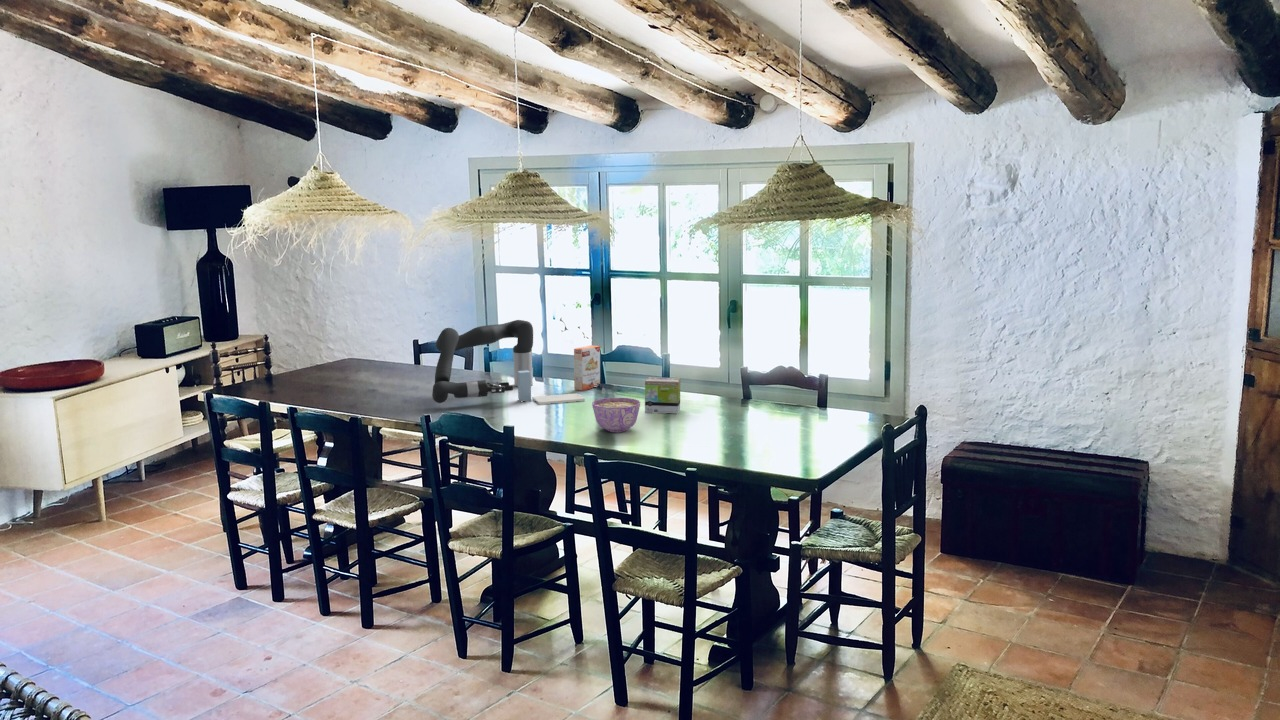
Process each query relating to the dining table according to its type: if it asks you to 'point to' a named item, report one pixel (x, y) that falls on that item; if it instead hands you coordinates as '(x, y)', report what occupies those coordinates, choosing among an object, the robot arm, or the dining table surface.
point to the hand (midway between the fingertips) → (510, 386)
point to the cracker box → (586, 367)
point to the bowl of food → (616, 413)
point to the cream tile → (558, 398)
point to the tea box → (662, 395)
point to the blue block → (524, 385)
